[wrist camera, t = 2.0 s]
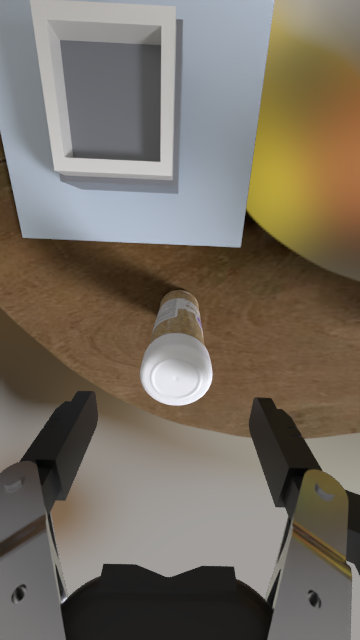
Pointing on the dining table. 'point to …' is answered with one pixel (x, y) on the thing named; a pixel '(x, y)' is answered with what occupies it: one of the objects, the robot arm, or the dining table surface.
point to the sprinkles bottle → (177, 353)
